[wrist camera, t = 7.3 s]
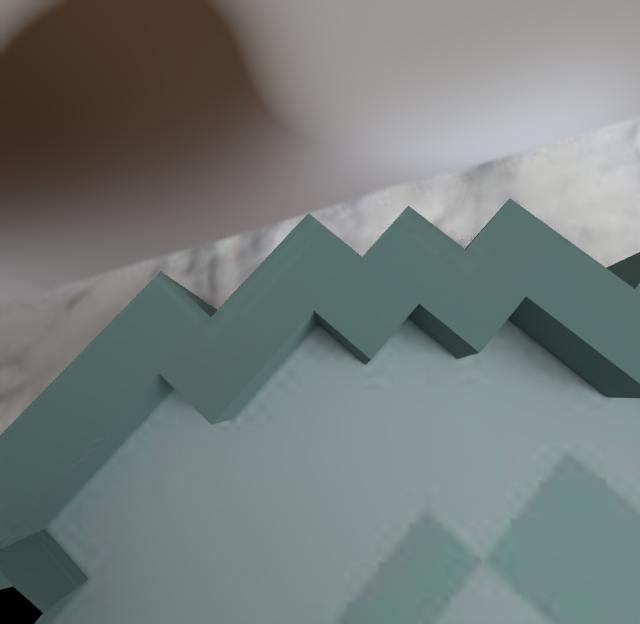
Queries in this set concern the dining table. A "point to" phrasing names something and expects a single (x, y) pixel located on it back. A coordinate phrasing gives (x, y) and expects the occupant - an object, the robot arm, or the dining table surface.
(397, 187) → the dining table surface
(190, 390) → the can
